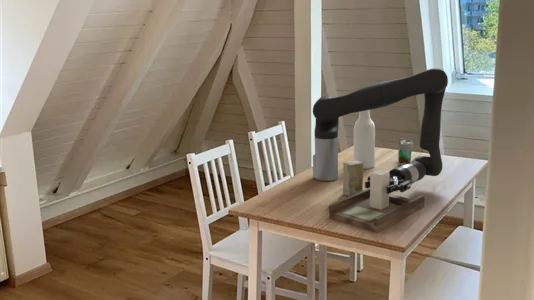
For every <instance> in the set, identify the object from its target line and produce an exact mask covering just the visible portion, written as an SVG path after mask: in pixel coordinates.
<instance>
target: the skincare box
mask: <svg viewBox="0 0 534 300" xmlns="http://www.w3.org/2000/svg"><path fill="white" fill-rule="evenodd" d="M342 164H343V166H342V194H343V195H344V196H347V197H349V196H352V195H354V194H356V193H359V192H361V191H363V187H364V186H363V183H364V182H363V179H364V169H363V163H362V162H360V161H357V160H355V161H354V160H349V161H344V162H343V163H342Z"/></svg>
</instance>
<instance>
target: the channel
mask: <svg viewBox="0 0 534 300" xmlns="http://www.w3.org/2000/svg"><path fill="white" fill-rule="evenodd" d="M425 198H426V195H425V194H420V195H418V196H416V197H414V198H409V197H405V196H401V195H397V194H393V193H390V194H389V206H388V207H386V208H384V209H382V210H380V209H377V208H373V207H370V188H365V189H364V190H363V191H361V192H359V193H356V194H354V195H352V196H347V197H345V198H343V199H342V198H341V199H340V200H338V201H335V202H334V203H331V204H329V205H328V215H329V216H328V217H329V219H332V220H335V221H338V222H342V223H345V224H348V225H352V226H355V227H358V228H360V229H364V230H366V231H367V230H368V231H371V232H374V233H379V232H381V231H382V230H384V229H387V228H389V227H390V226H393V225H394V224H396V223H398V222H400V221H402V220H404V219H406V218H407V217H409V216H411V215H413V214H416V213H418V212H419V211H421V210H423V209H425V202H426V201H425V200H426V199H425Z"/></svg>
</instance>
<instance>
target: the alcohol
mask: <svg viewBox="0 0 534 300" xmlns="http://www.w3.org/2000/svg"><path fill="white" fill-rule="evenodd" d="M375 136H376V126H375V123H374V121H373V120H372V119H371V110H366V111H361V112H358V119H356V121H355V123H354V125H353V161H355V160H357V161H360V162H362V163H363V170H369V169H372V168H374V166H375V159H376V158H375V154H376V151H375V149H376V148H375V146H376V145H375V144H376V142H375V141H376V140H375V139H376V137H375Z"/></svg>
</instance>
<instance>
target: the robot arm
mask: <svg viewBox="0 0 534 300" xmlns="http://www.w3.org/2000/svg"><path fill="white" fill-rule="evenodd" d="M448 77H449V76H448V75H447V73H446V71H444V70H443V69H441V68H439V67H432V68H429V69H426V70H423V71H421V72H418V73H415V74H413V75H409V76H405V77H401V78H397V79H396V78H395V79H391V80H386V81H380V82H377V83H372V84H370V85H366V86H363V87H362V88H359V89H357V90H355V91H353V92H350V93H348V94H345V95H341V96H335V97H333V96H331V95H323V96H321V97H319V98H318V99H317V100H316V101H315V103H314V104H313V106H312V114H313V117H314V118H315V124H314V125H315V127H314V154H313V155H312V178H313V179H316V180H318V181H321V182H322V181H323V182H332V181H335V180H338V178H339V138H338V137H339V119H340V118H341V117H344V116H347V115H349V114H353V113H359V112H361V111H366V110H370V111H371V110H376V109H379V108H380V109H381V108H384V107H388V106H391V105H394V104H396V103H398V102H401V101H403V100H405V99H408V98H410V97H414V96H418V95H424V109H423V116H422V121H421V126H420V127H421V128H420V136H419V147H420V149H421V150H424V151H427V152H428V153H429V156H426V155H419V156H415V158H413V159H412V160H411V162H410V163H408V164H406V165H402V166H399V165H398V167H395V168H392V169H391V170H389V171H388V172H389V186H388V187H387V193H388V194H393V193H394V192H398V191H399V192H400V193H405V192H407V191H408V190H410V189H411V187H412V185H413V184H415V183H416V182H418V181H420V180H423V178H424V177H425V176H430V177H437V176H439V175H440V174H441V173H442V171H443V160H442V155H441V150H440V149H441V148H440V142H441V141H440V140H441V129H442V128H441V127H442V126H441V125H442V124H441V123H442V106H443V101H444V96H445V92H446V89H447V87H448V85H449V79H448ZM364 188H365V189H368V188H370V176H367V181H365V182H364Z"/></svg>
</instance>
